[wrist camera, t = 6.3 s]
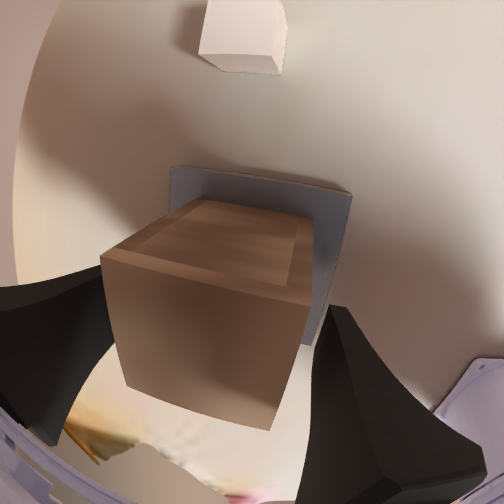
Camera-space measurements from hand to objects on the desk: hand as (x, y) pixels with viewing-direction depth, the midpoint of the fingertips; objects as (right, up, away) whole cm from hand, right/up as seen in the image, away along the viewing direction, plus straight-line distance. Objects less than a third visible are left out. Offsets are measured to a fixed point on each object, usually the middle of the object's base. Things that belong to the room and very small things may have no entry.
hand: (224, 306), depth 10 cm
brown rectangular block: (+1, +1, +3) cm, 4 cm away
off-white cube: (+1, +11, 0) cm, 11 cm away
